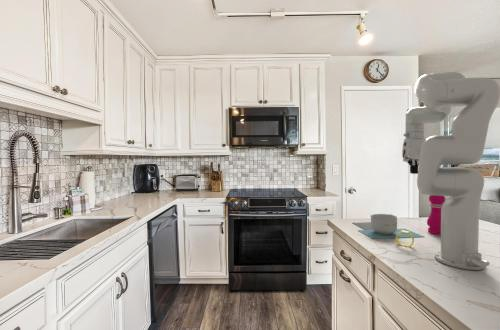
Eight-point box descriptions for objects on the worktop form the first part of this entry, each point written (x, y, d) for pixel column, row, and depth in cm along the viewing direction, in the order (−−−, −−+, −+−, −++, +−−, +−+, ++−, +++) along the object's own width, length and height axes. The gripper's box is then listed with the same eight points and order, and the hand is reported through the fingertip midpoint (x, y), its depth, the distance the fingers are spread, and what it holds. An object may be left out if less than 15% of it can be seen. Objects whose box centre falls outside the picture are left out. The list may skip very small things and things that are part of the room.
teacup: (386, 237, 106) (386, 219, 106) (365, 231, 116) (365, 214, 116) (407, 233, 112) (407, 216, 112) (385, 227, 122) (385, 211, 121)
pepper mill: (439, 230, 116) (440, 188, 116) (450, 235, 109) (451, 191, 109) (423, 230, 117) (423, 188, 117) (433, 235, 110) (433, 190, 109)
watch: (413, 247, 97) (415, 232, 96) (412, 249, 94) (414, 234, 94) (395, 242, 100) (397, 228, 100) (394, 244, 98) (396, 230, 98)
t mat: (424, 237, 107) (424, 236, 107) (372, 238, 105) (372, 238, 105) (388, 222, 132) (388, 221, 132) (345, 223, 130) (345, 223, 130)
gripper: (405, 135, 115) (405, 174, 116) (435, 135, 116) (434, 173, 117) (394, 136, 123) (394, 173, 123) (422, 136, 124) (422, 172, 124)
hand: (413, 173), depth 120 cm, fingers closed
